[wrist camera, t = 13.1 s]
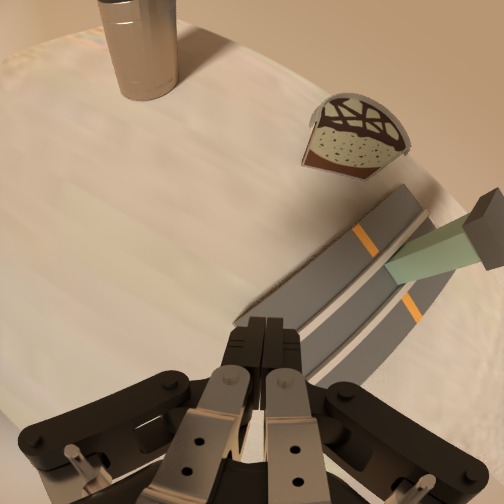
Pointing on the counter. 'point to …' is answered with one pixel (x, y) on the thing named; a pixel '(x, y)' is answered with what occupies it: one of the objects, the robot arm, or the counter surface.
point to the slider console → (355, 296)
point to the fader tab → (455, 244)
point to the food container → (354, 137)
